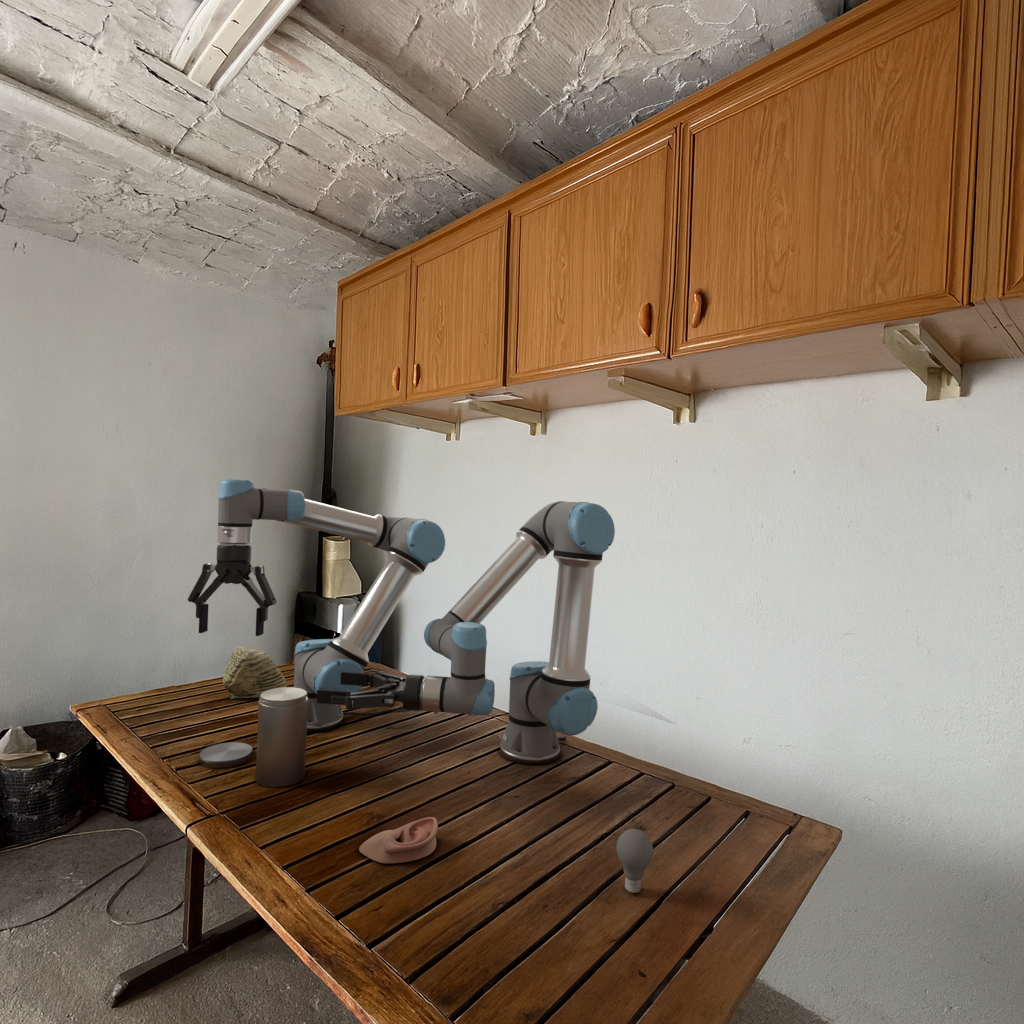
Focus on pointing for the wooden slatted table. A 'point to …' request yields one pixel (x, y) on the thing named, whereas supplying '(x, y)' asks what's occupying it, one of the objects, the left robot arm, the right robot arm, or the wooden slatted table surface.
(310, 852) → the wooden slatted table surface
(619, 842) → the light bulb
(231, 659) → the fossil
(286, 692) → the jar
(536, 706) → the right robot arm
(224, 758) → the lid
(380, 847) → the anatomical model
